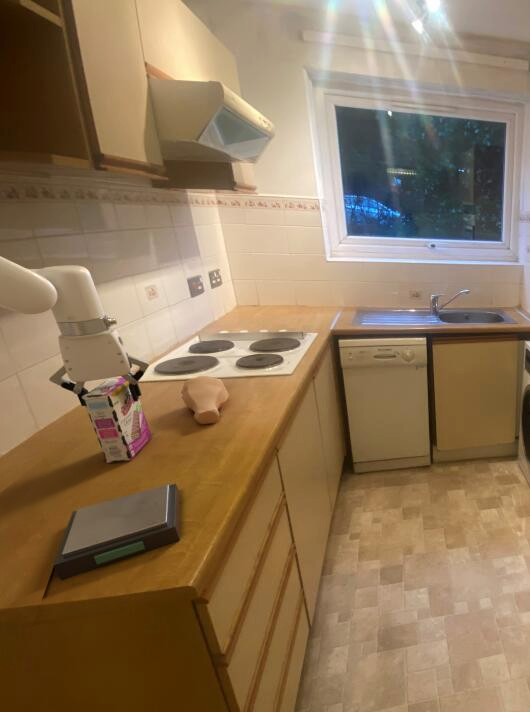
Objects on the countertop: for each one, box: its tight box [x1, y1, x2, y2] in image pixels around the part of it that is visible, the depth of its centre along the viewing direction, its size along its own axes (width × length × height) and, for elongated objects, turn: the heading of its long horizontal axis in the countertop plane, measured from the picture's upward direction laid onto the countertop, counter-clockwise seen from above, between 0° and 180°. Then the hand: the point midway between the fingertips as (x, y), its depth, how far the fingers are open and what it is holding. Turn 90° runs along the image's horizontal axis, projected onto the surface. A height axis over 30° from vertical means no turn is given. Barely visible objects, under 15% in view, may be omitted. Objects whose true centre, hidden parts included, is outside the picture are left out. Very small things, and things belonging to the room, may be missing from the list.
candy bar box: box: [82, 377, 153, 464], centre depth 99 cm, size 11×5×16 cm, turn 18°
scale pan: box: [62, 484, 170, 558], centre depth 75 cm, size 13×13×1 cm
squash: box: [181, 375, 230, 425], centre depth 120 cm, size 11×20×9 cm, turn 37°
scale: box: [53, 483, 181, 580], centre depth 76 cm, size 15×16×3 cm
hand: (113, 403), depth 97 cm, fingers open, 7 cm apart
